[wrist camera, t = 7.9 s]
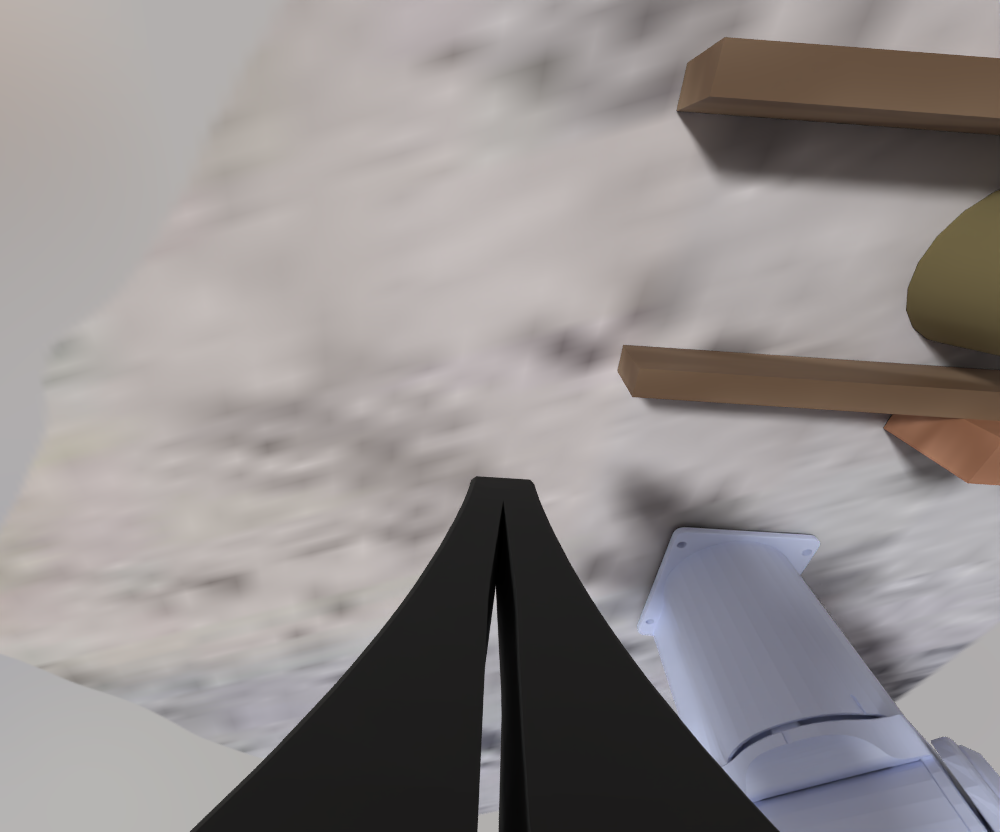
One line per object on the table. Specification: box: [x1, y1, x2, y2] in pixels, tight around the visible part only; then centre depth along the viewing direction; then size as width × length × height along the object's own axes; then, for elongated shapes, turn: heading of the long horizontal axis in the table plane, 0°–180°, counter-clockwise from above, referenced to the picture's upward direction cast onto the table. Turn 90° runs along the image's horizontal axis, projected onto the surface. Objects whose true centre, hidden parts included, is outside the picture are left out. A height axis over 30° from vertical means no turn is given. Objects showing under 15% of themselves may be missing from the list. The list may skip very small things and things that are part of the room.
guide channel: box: [617, 37, 1000, 485], centre depth 13 cm, size 14×21×4 cm
